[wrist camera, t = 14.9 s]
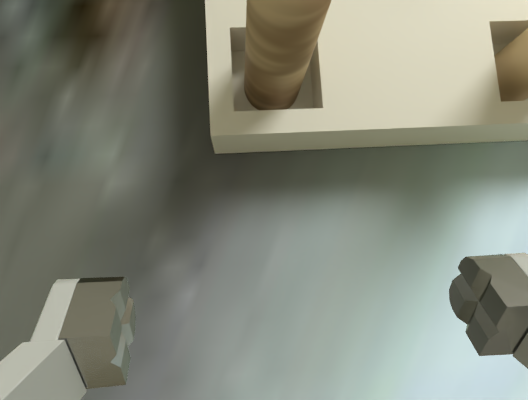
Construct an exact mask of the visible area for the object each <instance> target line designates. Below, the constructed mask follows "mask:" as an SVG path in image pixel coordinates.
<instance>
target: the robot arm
mask: <svg viewBox="0 0 528 400" xmlns="http://www.w3.org/2000/svg"><path fill="white" fill-rule="evenodd" d="M458 269H459V271H460V272H461V274H460V275H459V276H457V277H456V278H455V279H454V280H453V281H452V283H451V286H450V289H449V298H450V303H451V306H452V309H453V311H454V313H455V314H456V316H457V317H458V318H459V319H460V320H462V321H463V322H465V323H466V324H467V328H466V334H467V336H468V337H469V339H470V341H471V342H472V344H473V346H474V348H475V349H476V351H477V353H478V355H479V356H487V355H506V354H513V357H515V358H516V359H517V360H518V361H519V362H521V363H522V364H523V365H524V366H525V367H527V368H528V254H526V253H516V254H504V255H502V254H499V255H484V256H470V257H465V258H464V259H463V260H461V262H460V264H459V267H458ZM129 291H130V286H129V282H128V279H127V278H126V277H105V278H80V279H58V280H57V281H56V282H55V283H54V284H53V285H52V287H51V290H50V292H49V295H48V297H47V300H46V302H45V305H44V307H43V310H42V312H41V315H40V317H39V320H38V322H37V325H36V327H35V330H34V332H33V335H32V337H31V340H30V342H23V343H21V344H20V345H19V346H18V347H17V348H15V349H14V350H13V351H12V352H11V353H10V354H8V355H7V356H6V357H5V358H4V359H3V360H2V361H0V400H80V399H81V398H82V397H83V396H84V394H85V393H86V392H87V390H86V389H91V388H100V387H109V386H119V385H126V382H127V376H128V370H129V365H130V359H131V357H130V353H129V349H128V346H129V345H130V344H131V343H132V342H133V340H134V335H135V326H136V313H135V306H134V301H133V300H132V299H131V298H129V297H128V296H129Z"/></svg>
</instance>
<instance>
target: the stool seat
mask: <svg viewBox="0 0 528 400" xmlns="http://www.w3.org/2000/svg"><path fill="white" fill-rule="evenodd" d="M246 6H247V0H205V14H206V38H207V62H208V86H209V111H210V135H211V140H212V144H213V148H214V152H215V154H222V153H245V152H269V151H292V150H316V149H339V148H363V147H386V146H409V145H433V144H456V143H480V142H503V141H527V140H528V0H331V3H330V6H329V9H328V12H327V14H326V17H325V20H324V23H323V26H322V29H321V31H320V34H319V37H318V40H317V43H316V46H315V48H314V51H313V54H312V57H311V60H310V62H309V65H308V68H307V71H306V74H305V77H304V79H303V82H302V85H301V88H300V91H299V93H298V96H297V99H296V100H295V102H294V103H293V105H292V106H291V107H290V108H288V109H284V110H258V109H256V108H255V107H253V106H252V105H251V104H250V102H249V101H248V99H247V97H246V95H245V91H244V73H245V39H246Z"/></svg>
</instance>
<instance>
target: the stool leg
mask: <svg viewBox="0 0 528 400" xmlns="http://www.w3.org/2000/svg"><path fill="white" fill-rule="evenodd" d="M330 3H331V0H247V6H246V39H245V73H244V91H245V95H246V97H247V99H248V101H249V102H250V104H251V105H252V106H253V107H255V108H256V109H258V110H284V109H288V108H290V107H291V106H292V105H293V103H294V102H295V100H296V99H297V96H298V93H299V91H300V88H301V85H302V82H303V79H304V77H305V74H306V71H307V68H308V65H309V62H310V60H311V57H312V54H313V51H314V48H315V46H316V43H317V40H318V37H319V34H320V31H321V29H322V26H323V23H324V20H325V17H326V14H327V12H328V9H329V6H330Z"/></svg>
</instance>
